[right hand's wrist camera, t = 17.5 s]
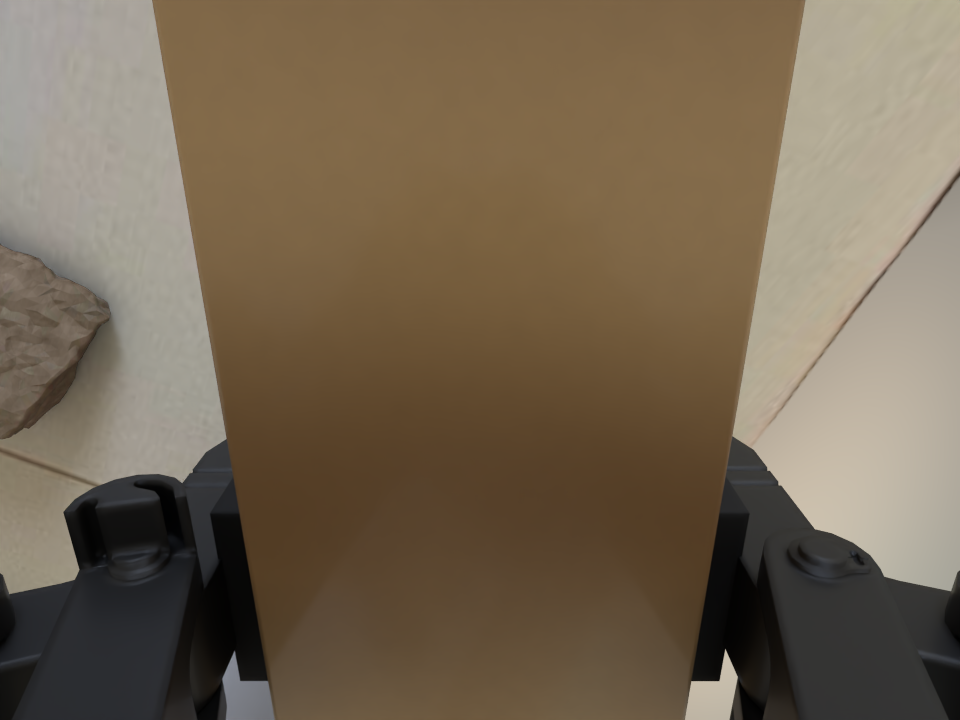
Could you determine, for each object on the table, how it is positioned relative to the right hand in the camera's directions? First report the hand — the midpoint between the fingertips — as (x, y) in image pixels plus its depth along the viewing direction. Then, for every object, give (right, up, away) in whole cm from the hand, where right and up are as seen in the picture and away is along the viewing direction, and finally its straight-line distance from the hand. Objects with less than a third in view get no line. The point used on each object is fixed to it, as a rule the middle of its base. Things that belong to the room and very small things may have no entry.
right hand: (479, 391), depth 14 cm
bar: (0, +19, -7) cm, 20 cm away
